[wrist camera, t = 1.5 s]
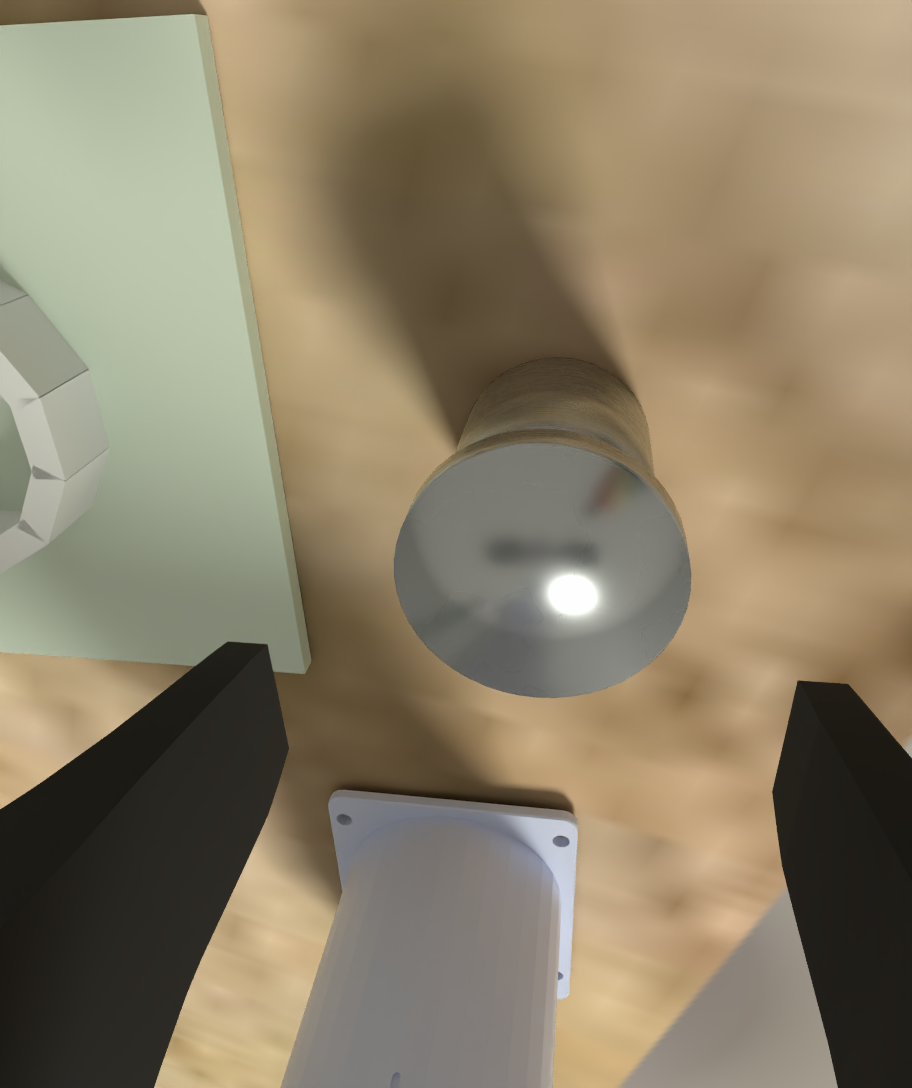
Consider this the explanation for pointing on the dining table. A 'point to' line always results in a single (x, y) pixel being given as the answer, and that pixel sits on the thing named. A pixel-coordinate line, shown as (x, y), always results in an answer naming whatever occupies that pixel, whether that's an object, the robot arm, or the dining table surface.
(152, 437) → the duct flange
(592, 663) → the silver canister
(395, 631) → the dining table surface
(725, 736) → the dining table surface
